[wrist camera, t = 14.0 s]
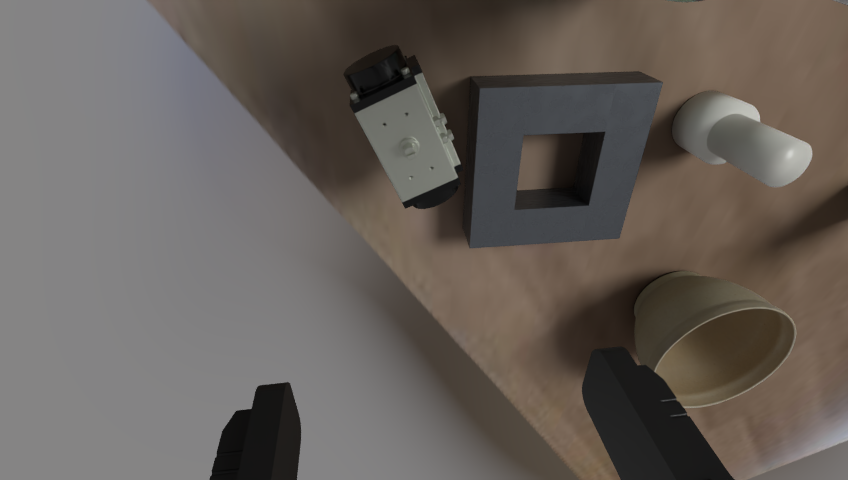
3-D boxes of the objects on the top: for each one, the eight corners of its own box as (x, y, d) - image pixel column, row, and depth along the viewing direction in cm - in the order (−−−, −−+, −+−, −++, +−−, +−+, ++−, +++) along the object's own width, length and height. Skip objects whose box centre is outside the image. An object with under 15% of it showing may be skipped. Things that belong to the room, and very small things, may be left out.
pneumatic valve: (402, 166, 45) (414, 230, 35) (344, 52, 38) (338, 90, 28) (454, 143, 44) (480, 201, 34) (403, 22, 38) (418, 51, 28)
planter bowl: (606, 353, 64) (646, 421, 55) (610, 264, 55) (659, 328, 46) (718, 328, 63) (777, 392, 54) (741, 235, 55) (816, 292, 45)
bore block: (470, 76, 41) (480, 88, 37) (639, 71, 42) (662, 82, 39) (462, 227, 49) (469, 248, 46) (602, 219, 51) (619, 238, 48)
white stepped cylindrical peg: (682, 91, 44) (768, 130, 34) (739, 89, 44) (839, 127, 35) (664, 150, 47) (738, 199, 38) (717, 147, 48) (803, 196, 38)
